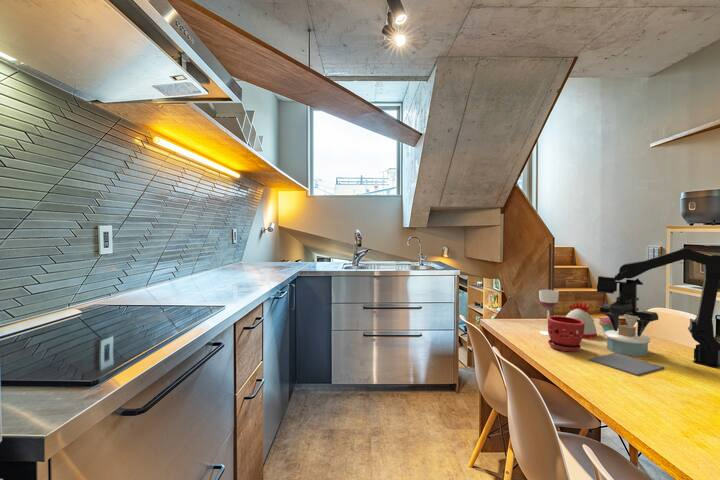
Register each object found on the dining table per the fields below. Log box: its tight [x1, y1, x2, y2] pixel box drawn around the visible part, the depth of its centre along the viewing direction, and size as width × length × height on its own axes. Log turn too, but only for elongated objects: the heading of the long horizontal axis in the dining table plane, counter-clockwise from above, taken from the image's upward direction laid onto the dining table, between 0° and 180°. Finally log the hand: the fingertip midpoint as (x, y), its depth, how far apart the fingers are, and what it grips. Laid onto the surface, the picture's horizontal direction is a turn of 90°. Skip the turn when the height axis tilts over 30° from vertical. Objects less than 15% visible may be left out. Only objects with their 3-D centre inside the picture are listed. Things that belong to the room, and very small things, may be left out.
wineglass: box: [538, 289, 560, 336], centre depth 168 cm, size 8×9×20 cm
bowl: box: [606, 337, 649, 357], centre depth 144 cm, size 13×13×5 cm
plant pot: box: [547, 315, 585, 352], centre depth 147 cm, size 13×13×12 cm
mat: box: [588, 352, 665, 377], centre depth 129 cm, size 16×16×1 cm
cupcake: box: [598, 316, 622, 333], centre depth 170 cm, size 9×8×12 cm
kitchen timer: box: [563, 301, 598, 339], centre depth 168 cm, size 14×14×15 cm
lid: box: [604, 324, 651, 344], centre depth 144 cm, size 15×15×5 cm
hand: (627, 333), depth 144 cm, fingers open, 8 cm apart
